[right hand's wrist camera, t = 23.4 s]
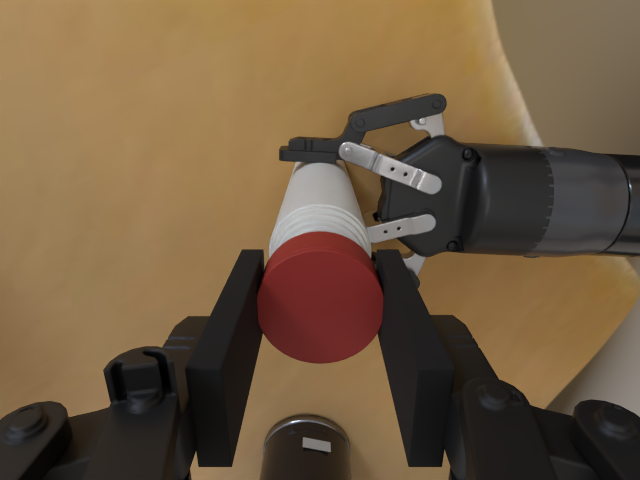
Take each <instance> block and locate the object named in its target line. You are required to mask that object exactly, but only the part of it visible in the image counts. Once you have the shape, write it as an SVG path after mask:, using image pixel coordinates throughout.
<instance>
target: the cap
mask: <svg viewBox="0 0 640 480" xmlns="http://www.w3.org/2000/svg"><path fill="white" fill-rule="evenodd" d="M383 298H384V295H383V291H382V288H381V285H380V281H379V278H378V275H377V272H376V269H375V266H374V263H373V261H372V260H371V258H370V256H369V255H368V254H367V252H366V251H365V250H364V249H363V248H362V247H361V246H360V245H359V244H357V243H356V242H355V241H353V240H351V239H350V238H348V237H345V236H343V235H340V234H337V233H332V232H325V231H316V232H308V233H304V234H301V235H298V236H295V237H293V238H291V239H289V240H288V241H286V242H285V243H283V244H282V245H281V246H280V247H279V248H277V249H276V251H275V252H274V253H273V254H272V256H271V257H270V259H269V260H268V263H267V265H266V267H265V270H264V274H263V277H262V280H261V283H260V287H259V290H258V294H257V307H258V322H259V326H260V328H261V330H262V332H263V333H264V335H265V336H266V338H267V339H268V340H269V342H270V343H271V344H272V345H273V346H274V347H276V348H277V349H278V350H279V351H281V352H282V353H284V354H286V355H288V356H290V357H292V358H294V359H297V360H300V361H304V362H309V363H332V362H337V361H340V360H344V359H346V358H349V357H351V356H353V355H355V354H357V353H358V352H360V351H361V350H362V349H364V348H365V347H366V346H367V345H368V344H369V343H370V342H371V341H372V340H373V339H374V337H375V336H376V334H377V333H378V331H379V329H380V327H381V324H382V314H383Z"/></svg>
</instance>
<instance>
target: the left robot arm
mask: <svg viewBox="0 0 640 480" xmlns="http://www.w3.org/2000/svg"><path fill="white" fill-rule="evenodd" d="M445 108H446V99H445V97H444V96H443V95H441V94H433V93H430V94H429V93H427V94H422V95H418V96H414V97H410V98H406V99H402V100H398V101H394V102H390V103H386V104H382V105H378V106H373V107H369V108H365V109H361V110H357V111H354V112H352V113H351V114H350V115H349V117H348V122H347V125H346V127H345V129H344V132H343V133H342V134H341V135H340V136H339V137H337V138H315V137H295V138H292V139H290V141H289V146H281V147H280V149H279V160H281V161H291V162H311V163H331V164H336V160H345V161H348V162H351V163H353V164H356V165H358V166H361V167H364V168H366V169H369V170H371V171H372V172H374V173H377V174H379V175H381V179H380V181H381V187H382V193H381V196H380V199H379V201H378V208H377V209H376V210H372V211H368V212H365V213H363V214H362V217H363V220H364V223H365V226H366V229H367V232H368V235H369V238H370V242H371V243H377V242H381V241H385V240H389V239H393V238H397V239H398V240H399V241H401V242H402V243H403V244H404V245H406V246H407V247H408V248H409V249H411V251H410V252H409V253H406V254H401V256H402V258H403V260H404V262H405V264H406V267H407V269H408V271H409V273H410V275H411V277H412V279H413V281H414V283H415V285H416V287H417V289H418V287H419V285H420V281H419V279H418V277H417V276H418V274H419V271H420V269H421V267H422V265H423V263H424V261H425V259H426V257H431V256H434V255H436V254H438V253H442V252H447V251H449V252H458V253H473V254H495V255H517V256H523V257H529V258H536V257H567V256H577V255H595V256H617V257H640V156H637V155H618V154H600V153H592V152H587V151H582V150H576V149H570V148H556V147H535V146H517V145H497V144H477V143H461V142H457V141H455V140H454V139H453V138H451V137H449V136H446V135H445V129H444V121H443V113H442V112H443V111H444V110H445ZM404 122H408V124H409V126H410V127H411V128H413V129H416V130H425V131H426V133H427V135H428V136H427V137H426V138H424V139H423V140H421V141H420V142H418V143H416V144H415V145H413V146H412V147H410V148H408V149H407V150H405V151H404V152H402V153H401V154H399V155H397V156H396V155H393V154H391V153H388V152H386V151H383V150H380V149H378V148H375V147H371V146H369V145H366V144H363V143H361V142H362V140H363V138H364V135H365V133H366V132H367V131H371V130H375V129H379V128H383V127H387V126H391V125H396V124H400V123H404ZM385 230H386V231H385ZM371 252H372V251H371ZM371 260H372V261H373V263H374V266H375V269H376V261H377V253H375V252H372V253H371ZM259 480H351V470H350V446H349V441H348V438H347V436H346V434H345V433H344V431H343V430H342V429H341V428H340V427H339V426H338V425H336V424H335V423H334V422H332V421H330V420H328V419H325V418H322V417H318V416H312V415H300V416H294V417H291V418H287V419H285V420H283V421H281V422H279V423H278V424H276V425H275V426H274V427H273V428H272V429H271V430H270V431H269V433H268V434H267V436H266V439H265V442H264V448H263V461H262V468H261V474H260V479H259Z"/></svg>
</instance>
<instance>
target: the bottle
mask: <svg viewBox="0 0 640 480" xmlns="http://www.w3.org/2000/svg"><path fill="white" fill-rule="evenodd" d="M316 231H325V232H332V233H337V234H340V235H343V236H345V237H348V238H350V239H351V240H353V241H355V242H356V243H357V244H359V245H360V246H361V247H362V248H363V249H364V250H365V251H366V252H367V254H368V255H369V256H370V258H371V253H372V252H371V242H370V238H369V235H368V232H367V229H366V226H365V223H364V220H363V217H362V214H361V211H360V208H359V205H358V202H357V199H356V196H355V193H354V190H353V187H352V184H351V181H350V178H349V175H348V172H347V169H346V166H345V163H344V161H343V160H336V164H331V163H311V162H296V163H295V166H294V169H293V172H292V175H291V178H290V182H289V185H288V188H287V191H286V194H285V197H284V200H283V203H282V206H281V209H280V212H279V215H278V218H277V221H276V224H275V227H274V230H273V233H272V236H271V240H270V245H269V258H270V257H271V256H272V254H273V253H274V252H275V251H276V249H277V248H279V247H280V246H281V245H282V244H283V243H285V242H286V241H288V240H289V239H291V238H293V237H295V236H298V235H301V234H304V233H308V232H316Z"/></svg>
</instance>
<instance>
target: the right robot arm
mask: <svg viewBox="0 0 640 480" xmlns="http://www.w3.org/2000/svg"><path fill="white" fill-rule="evenodd" d="M376 272H377V275H378V278H379V281H380V285H381V288H382V291H383V295H384V298H383V314H382V324H381V327H380V329H379V331H378V337H379V341H380V346H381V350H382V354H383V359H384V363H385V367H386V371H387V376H388V380H389V384H390V389H391V393H392V397H393V402H394V406H395V410H396V414H397V419H398V423H399V427H400V432H401V436H402V440H403V444H404V449H405V453H406V457H407V462H408V466H409V467H442V462H443V455H444V449H445V452H446V454H447V457H448V460H449V463H450V466H451V467H450V473H449V480H640V417H639V416H637V415H636V414H635V413H633V412H631V411H629V410H627V409H625V408H623V407H621V406H619V405H616V404H613V403H609V402H606V401H600V400H586V401H581V402H580V403H579V404H578V405H576V406H575V408H574V412H573V415H572V416H570V415H566V414H562V413H557V412H553V411H548V410H544V409H541V408H537V407H534V406H532V405H530V404H529V402H528V400H527V399H526V397H525V396H524V394H523V393H522V392H520V391H519V390H518V389H517V388H515V387H514V386H512V385H510V384H508V383H506V382H504V381H502V380H499V379H498V377H497V375H496V374H495V372H494V370H493V369H492V367H491V366H490V364H489V362H488V361H487V359H486V357H485V356H484V354H483V353H482V351H481V349H480V348H478V344H477V343H476V341H475V339H474V338H472V335H471V333H470V331H469V330H468V328H467V326H466V325H465V324H464V323H462V322H461V321H460V320H458V319H457V318H456V317H454V316H453V315H430V314H429V312H428V310H427V308H426V306H425V304H424V302H423V300H422V298H421V296H420V293H419V291H418V289H417V287H416V285H415V283H414V281H413V279H412V277H411V275H410V273H409V271H408V269H407V267H406V264H405V262H404V260H403V258H402V256H401V254H400V252H399V250H377V261H376ZM263 274H264V252H263V250H242V251H241V253H240V255H239V257H238V259H237V261H236V263H235V265H234V268H233V270H232V272H231V274H230V276H229V278H228V280H227V282H226V284H225V286H224V288H223V290H222V292H221V294H220V297H219V299H218V301H217V303H216V305H215V307H214V309H213V311H212V313H211V315H210V316H188V317H187V318H185V319H184V320H183V321H181V322H180V323H179V324H177V325H176V326H175V327H174V329H173V331H172V332H171V334H170V335H169V337H168V340H166V342H165V344H164V345H163V348H161V347H157V346H146V347H141V348H136V349H132V350H129V351H127V352H125V353H122V354H120V355H118V356H117V357H116V358H114V359H113V360H111V361H110V362H109V363H108V365H107V366H106V367H105V368H104V370H103V371H104V375H105V380H106V384H107V388H108V393H109V397H110V402H111V404H110V407H108V408H105V409H102V410H99V411H95V412H90V413H86V414H82V415H77V416H73V417H68V413H67V410H66V408H65V407H64V406H63V405H62V404H61V403H57V402H52V401H47V402H37V403H34V404H30V405H27V406H24V407H21V408H19V409H17V410H15V411H13V412H12V413H10V414H8V415H6V416H5V417H3V418H2V419H1V420H0V480H191V473H190V467H191V464H192V461H193V458H194V455H195V452H197V459H198V466H199V467H232V464H233V459H234V455H235V451H236V446H237V442H238V438H239V434H240V429H241V425H242V421H243V416H244V412H245V408H246V404H247V399H248V395H249V391H250V386H251V382H252V378H253V373H254V369H255V365H256V361H257V356H258V352H259V348H260V343H261V339H262V335H263V332H262V330H261V328H260V326H259V322H258V307H257V294H258V290H259V287H260V283H261V280H262V277H263Z"/></svg>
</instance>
